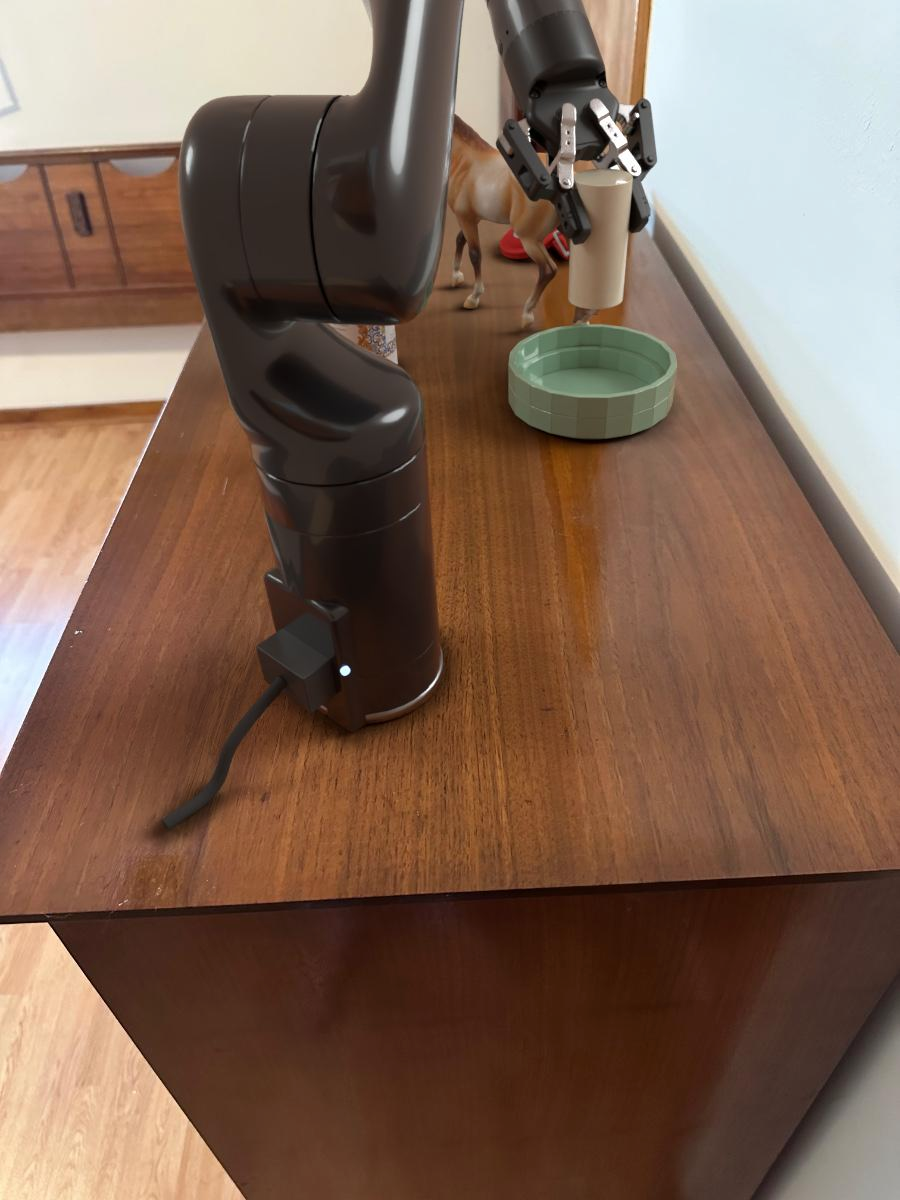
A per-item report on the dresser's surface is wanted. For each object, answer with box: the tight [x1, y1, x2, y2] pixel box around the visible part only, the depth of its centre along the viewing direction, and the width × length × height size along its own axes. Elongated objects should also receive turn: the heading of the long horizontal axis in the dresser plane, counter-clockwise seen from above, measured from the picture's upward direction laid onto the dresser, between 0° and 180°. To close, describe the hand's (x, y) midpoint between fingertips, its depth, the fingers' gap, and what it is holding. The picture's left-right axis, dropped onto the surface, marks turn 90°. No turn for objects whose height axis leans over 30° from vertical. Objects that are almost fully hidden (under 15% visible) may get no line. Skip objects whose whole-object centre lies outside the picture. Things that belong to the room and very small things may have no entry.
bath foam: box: [329, 323, 399, 365], centre depth 85 cm, size 7×7×20 cm
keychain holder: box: [499, 227, 570, 261], centre depth 114 cm, size 12×4×10 cm
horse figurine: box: [447, 113, 600, 331], centre depth 94 cm, size 31×8×21 cm, turn 39°
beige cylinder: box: [567, 168, 633, 310], centre depth 75 cm, size 5×5×10 cm
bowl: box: [507, 323, 678, 440], centre depth 83 cm, size 15×15×4 cm
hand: (611, 232), depth 73 cm, fingers closed on beige cylinder, 4 cm apart
